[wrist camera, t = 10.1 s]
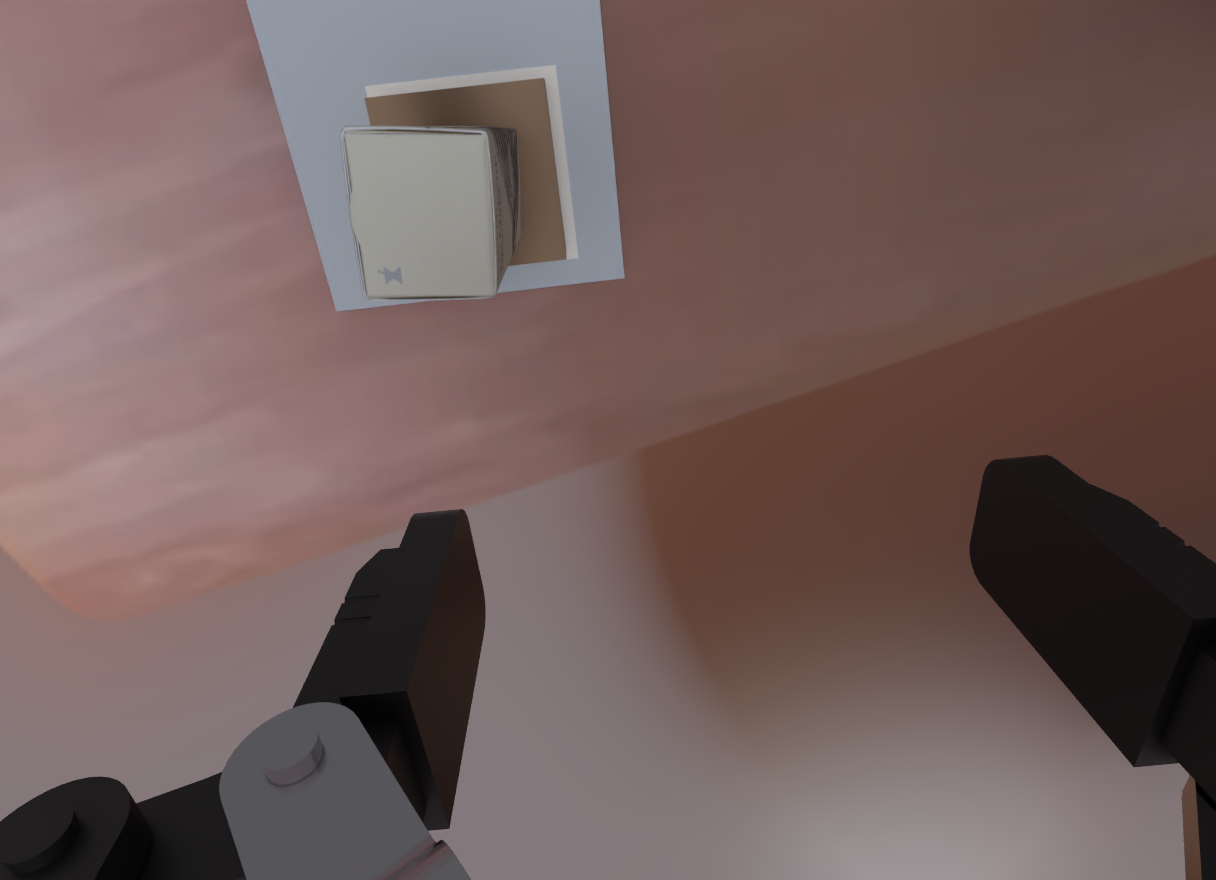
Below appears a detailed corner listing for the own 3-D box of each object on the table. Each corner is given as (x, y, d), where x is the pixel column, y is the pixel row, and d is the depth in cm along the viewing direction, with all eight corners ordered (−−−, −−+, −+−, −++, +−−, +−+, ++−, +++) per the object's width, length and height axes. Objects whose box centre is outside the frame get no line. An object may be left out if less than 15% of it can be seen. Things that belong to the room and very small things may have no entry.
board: (591, -74, 31) (592, -80, 30) (622, 274, 38) (624, 278, 37) (244, -36, 30) (233, -41, 30) (341, 306, 38) (335, 312, 37)
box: (522, 239, 33) (502, 311, 21) (431, 239, 32) (360, 311, 21) (517, 119, 30) (491, 127, 19) (419, 118, 30) (332, 125, 19)
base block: (544, 80, 32) (543, 77, 30) (566, 248, 36) (566, 259, 33) (380, 98, 32) (364, 98, 30) (418, 265, 36) (406, 277, 33)
